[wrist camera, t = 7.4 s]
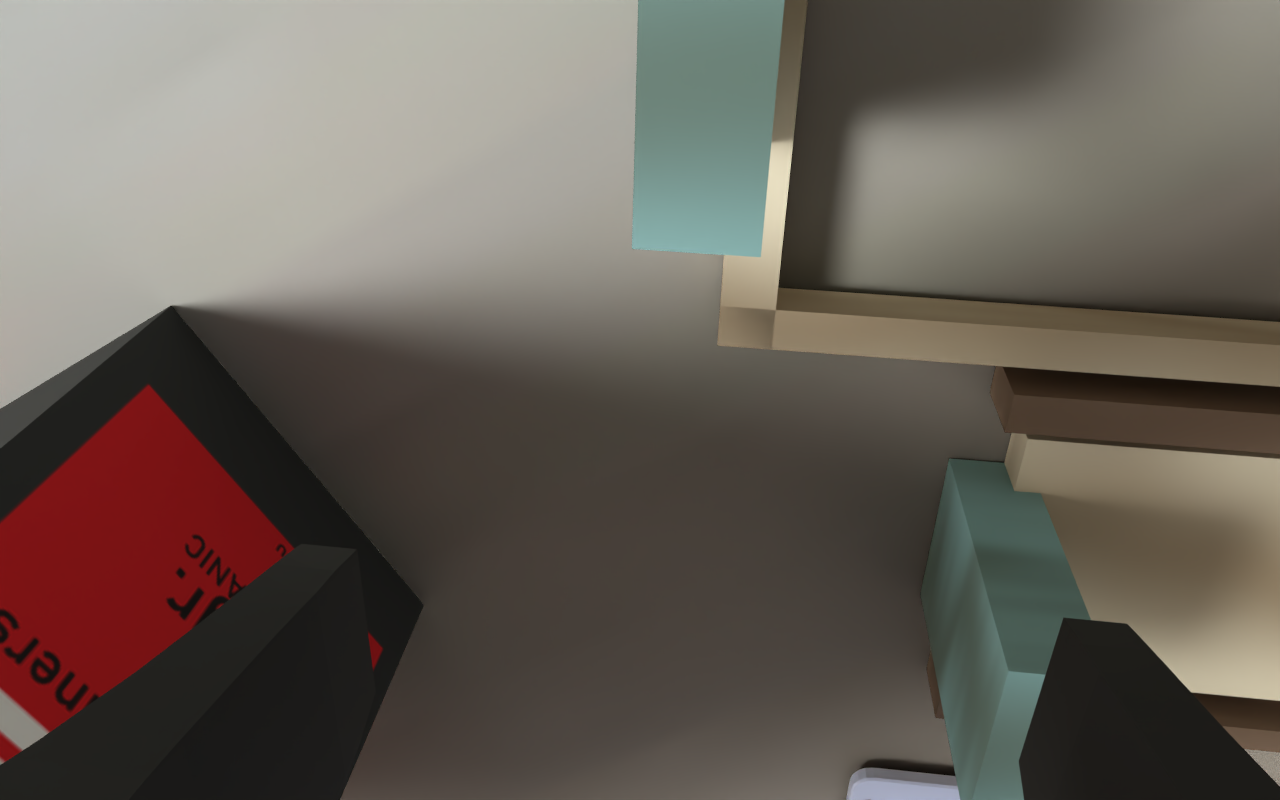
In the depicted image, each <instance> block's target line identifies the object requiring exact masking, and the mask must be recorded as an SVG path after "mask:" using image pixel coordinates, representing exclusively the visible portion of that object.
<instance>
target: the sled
mask: <svg viewBox="0 0 1280 800" xmlns="http://www.w3.org/2000/svg"><path fill="white" fill-rule="evenodd" d="M807 4H808V0H638V34H637V73H636V113H635V153H634V193H633V233H632V249H643V250H658V251H673V252H688V253H703V254H718V255H724V261H723V274H722V288H721V302H720V315H719V329H718V342H717V346H730V347H744V348H758V349H771V350H785V351H799V352H812V353H826V354H840V355H853V356H867V357H881V358H894V359H908V360H922V361H935V362H949V363H963V364H976V365H990V366H1003V367H1017V368H1031V369H1044V370H1058V371H1072V372H1085V373H1099V374H1113V375H1126V376H1140V377H1154V378H1167V379H1181V380H1195V381H1208V382H1222V383H1236V384H1249V385H1263V386H1277V387H1280V322H1271V321H1257V320H1242V319H1227V318H1213V317H1198V316H1184V315H1169V314H1154V313H1140V312H1125V311H1111V310H1096V309H1081V308H1067V307H1052V306H1038V305H1023V304H1008V303H994V302H979V301H965V300H950V299H935V298H921V297H906V296H892V295H877V294H862V293H848V292H833V291H819V290H804V289H789V288H778V284H779V274H780V265H781V255H782V245H783V236H784V226H785V216H786V207H787V197H788V187H789V178H790V168H791V158H792V149H793V139H794V129H795V120H796V110H797V100H798V91H799V81H800V71H801V62H802V52H803V42H804V33H805V23H806V13H807Z"/></svg>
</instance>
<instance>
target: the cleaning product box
mask: <svg viewBox="0 0 1280 800" xmlns="http://www.w3.org/2000/svg"><path fill="white" fill-rule="evenodd" d="M300 544H309V545H319V546H329V547H340V548H350V549H357V552H358V560H359V568H360V575H361V583H362V590H363V598H364V605H365V613H366V620H367V628H368V636H369V643H370V651H371V658H372V666H373V673H374V681H375V689H376V693H375V696H374V700H373V703H372V706H371V709H370V712H369V715H368V719H367V722H366V725H365V728H364V731H363V734H362V738H361V741H360V744H359V747H358V750H357V752H356V755H355V758H354V761H353V764H352V767H351V770H350V773H349V776H348V779H347V782H348V780H349V777H350V775H351V773H352V770H353V768H354V766H355V763H356V761H357V759H358V756H359V754H360V752H361V750H362V747H363V745H364V743H365V740H366V738H367V736H368V733H369V731H370V729H371V726H372V724H373V722H374V719H375V717H376V715H377V712H378V710H379V708H380V705H381V703H382V701H383V698H384V696H385V694H386V691H387V689H388V687H389V684H390V682H391V680H392V678H393V675H394V673H395V671H396V668H397V666H398V664H399V661H400V659H401V657H402V654H403V652H404V650H405V647H406V645H407V643H408V640H409V638H410V636H411V633H412V631H413V629H414V626H415V624H416V622H417V619H418V617H419V615H420V612H421V610H422V608H423V606H424V605H423V604H422V602H421V601H420V600H419V599H418V598H417V596H416V595H415V594H414V593H413V592H412V590H411V589H410V588H409V587H408V586H407V585H406V583H405V582H404V581H403V580H402V579H401V577H400V576H399V575H398V574H397V573H396V572H395V570H394V569H393V568H392V567H391V566H390V564H389V563H388V562H387V561H386V560H385V558H384V557H383V556H382V555H381V554H380V553H379V551H378V550H377V549H376V548H375V547H374V545H373V544H372V543H371V542H370V541H369V540H368V538H367V537H366V536H365V535H364V534H363V532H362V531H361V530H360V529H359V528H358V526H357V525H356V524H355V523H354V522H353V521H352V519H351V518H350V517H349V516H348V515H347V513H346V512H345V511H344V510H343V509H342V508H341V506H340V505H339V504H338V503H337V502H336V500H335V499H334V498H333V497H332V496H331V494H330V493H329V492H328V491H327V490H326V489H325V487H324V486H323V485H322V484H321V483H320V481H319V480H318V479H317V478H316V477H315V476H314V474H313V473H312V472H311V471H310V470H309V468H308V467H307V466H306V465H305V464H304V462H303V461H302V460H301V459H300V458H299V457H298V455H297V454H296V453H295V452H294V451H293V449H292V448H291V447H290V446H289V445H288V444H287V442H286V441H285V440H284V439H283V438H282V436H281V435H280V434H279V433H278V432H277V430H276V429H275V428H274V427H273V426H272V425H271V423H270V422H269V421H268V420H267V419H266V417H265V416H264V415H263V414H262V413H261V412H260V410H259V409H258V408H257V407H256V406H255V404H254V403H253V402H252V401H251V400H250V398H249V397H248V396H247V395H246V394H245V393H244V391H243V390H242V389H241V388H240V387H239V385H238V384H237V383H236V382H235V381H234V380H233V378H232V377H231V376H230V375H229V374H228V372H227V371H226V370H225V369H224V368H223V366H222V365H221V364H220V363H219V362H218V361H217V359H216V358H215V357H214V356H213V355H212V353H211V352H210V351H209V350H208V349H207V348H206V346H205V345H204V344H203V343H202V342H201V340H200V339H199V338H198V337H197V336H196V334H195V333H194V332H193V331H192V330H191V329H190V327H189V326H188V325H187V324H186V323H185V321H184V320H183V319H182V318H181V317H180V316H179V314H178V313H177V312H176V311H175V310H174V308H173V307H172V306H170V307H168V308H166V309H165V310H163V311H161V312H160V313H158V314H156V315H155V316H153V317H151V318H150V319H148V320H147V321H145V322H143V323H142V324H140V325H138V326H137V327H135V328H133V329H132V330H130V331H128V332H127V333H125V334H123V335H122V336H120V337H118V338H117V339H115V340H114V341H112V342H110V343H109V344H107V345H105V346H104V347H102V348H100V349H99V350H97V351H95V352H94V353H92V354H90V355H89V356H87V357H85V358H84V359H82V360H80V361H79V362H77V363H76V364H74V365H72V366H71V367H69V368H67V369H66V370H64V371H62V372H61V373H59V374H57V375H56V376H54V377H52V378H51V379H49V380H47V381H46V382H44V383H42V384H41V385H39V386H38V387H36V388H34V389H33V390H31V391H29V392H28V393H26V394H24V395H23V396H21V397H19V398H18V399H16V400H14V401H13V402H11V403H9V404H8V405H6V406H5V407H3V408H1V409H0V765H1V764H3V763H4V762H6V761H7V760H9V759H10V758H12V757H14V756H15V755H17V754H18V753H20V752H21V751H23V750H24V749H26V748H27V747H29V746H30V745H32V744H33V743H35V742H36V741H38V740H39V739H41V738H42V737H44V736H45V735H47V734H48V733H49V732H51V731H52V730H54V729H55V728H56V727H58V726H59V725H61V724H62V723H64V722H65V721H66V720H68V719H69V718H71V717H72V716H74V715H75V714H76V713H78V712H79V711H81V710H82V709H84V708H85V707H86V706H88V705H89V704H91V703H92V702H93V701H95V700H96V699H98V698H99V697H101V696H102V695H103V694H105V693H106V692H108V691H109V690H111V689H112V688H113V687H115V686H116V685H118V684H119V683H121V682H122V681H123V680H125V679H126V678H128V677H129V676H130V675H132V674H133V673H135V672H136V671H137V670H139V669H140V668H141V667H143V666H144V665H145V664H147V663H148V662H149V661H151V660H152V659H153V658H155V657H156V656H157V655H158V654H160V653H161V652H162V651H164V650H165V649H166V648H168V647H169V646H170V645H171V644H173V643H174V642H175V641H177V640H178V639H179V638H181V637H182V636H183V635H185V634H186V633H187V632H188V631H190V630H191V629H192V628H194V627H195V626H196V625H198V624H199V623H200V622H202V621H203V620H204V619H205V618H207V617H208V616H209V615H210V614H212V613H213V612H214V611H216V610H217V609H218V608H219V607H221V606H222V605H223V604H224V603H226V602H227V601H228V600H230V599H231V598H232V597H233V596H235V595H236V594H237V593H238V592H240V591H241V590H242V589H243V588H245V587H246V586H247V585H248V584H250V583H251V582H252V581H253V580H255V579H256V578H257V577H259V576H260V575H261V574H262V573H264V572H265V571H266V570H267V569H269V568H270V567H271V566H272V565H274V564H275V563H276V562H278V561H279V560H280V559H281V558H283V557H284V556H285V555H287V554H288V553H289V552H291V551H292V550H293V549H295V548H296V547H297V546H299V545H300ZM347 782H346V784H347ZM346 784H345V786H344V788H343V790H342V793H341V795H340V797H339V799H338V800H340V798H341V796H342V794H343V791H344V789H345V787H346Z"/></svg>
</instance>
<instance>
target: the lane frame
mask: <svg viewBox="0 0 1280 800" xmlns="http://www.w3.org/2000/svg"><path fill="white" fill-rule="evenodd" d="M990 394H991V397H992V400H993V402H994V405H995V408H996V410H997V413H998V415H999V418H1000V421H1001V423H1002V426H1003V429H1004V431H1005V433H1011V438H1010V442H1009V446H1008V450H1007V454H1006V458H1005V462H1004V463H1000V462H987V461H975V460H962V459H950V458H949V462H948V467H947V471H946V476H945V481H944V485H943V490H942V495H941V499H940V504H939V509H938V513H937V518H936V523H935V527H934V532H933V537H932V541H931V546H930V551H929V555H928V560H927V565H926V569H925V574H924V579H923V583H922V588H921V593H920V595H921V600H922V605H923V611H924V616H925V621H926V626H927V631H928V636H929V641H930V647H931V651H930V656H929V660H928V664H927V674H928V679H929V685H930V690H931V696H932V701H933V707H934V712H935V717H936V718H942V719H945V724H946V729H947V734H948V739H949V744H950V750H951V755H952V760H953V765H954V770H955V775H956V781H957V786H958V791H959V796H960V800H1024V796H1023V789H1022V782H1021V775H1020V768H1019V758H1020V755H1021V752H1022V749H1023V745H1024V742H1025V739H1026V736H1027V733H1028V729H1029V726H1030V723H1031V720H1032V717H1033V713H1034V710H1035V707H1036V704H1037V701H1038V697H1039V694H1040V691H1041V688H1042V685H1043V681H1044V678H1045V675H1046V672H1047V668H1048V665H1049V662H1050V659H1051V656H1052V652H1053V649H1054V646H1055V643H1056V640H1057V636H1058V633H1059V630H1060V627H1061V624H1062V620H1063V617H1064V618H1074V619H1084V620H1095V621H1105V622H1115V623H1126V624H1128V625H1129V626H1130V627H1131V628H1132V629H1133V630H1134V631H1135V632H1136V633H1137V634H1138V635H1139V636H1140V638H1141V639H1142V640H1143V641H1144V642H1145V643H1146V644H1147V645H1148V646H1149V647H1150V648H1151V649H1152V650H1153V651H1154V652H1155V654H1156V655H1157V656H1158V657H1159V658H1160V659H1161V660H1162V661H1163V662H1164V663H1165V664H1166V666H1167V667H1168V668H1169V669H1170V670H1171V671H1172V672H1173V673H1174V674H1175V675H1176V676H1177V678H1178V679H1179V680H1180V681H1181V682H1182V683H1183V684H1184V685H1185V686H1186V687H1187V688H1188V690H1189V691H1190V692H1191V693H1192V694H1193V695H1194V696H1195V697H1196V698H1197V699H1198V700H1199V702H1200V703H1201V704H1202V705H1203V706H1204V707H1205V708H1206V709H1207V710H1208V711H1209V712H1210V713H1211V715H1212V716H1213V717H1214V718H1215V719H1216V720H1217V721H1218V722H1219V723H1220V724H1221V725H1222V726H1223V727H1224V729H1225V730H1226V731H1227V732H1228V733H1229V734H1230V735H1231V736H1232V737H1233V738H1234V739H1235V740H1236V741H1237V742H1238V744H1239V745H1240V746H1241V747H1242V748H1243V749H1251V750H1261V751H1271V752H1280V387H1277V386H1263V385H1249V384H1236V383H1222V382H1208V381H1195V380H1181V379H1167V378H1154V377H1140V376H1126V375H1113V374H1099V373H1085V372H1072V371H1058V370H1044V369H1031V368H1017V367H1003V366H996V367H995V372H994V376H993V381H992V385H991V389H990Z"/></svg>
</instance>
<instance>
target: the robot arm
mask: <svg viewBox="0 0 1280 800" xmlns="http://www.w3.org/2000/svg"><path fill="white" fill-rule="evenodd" d="M375 693H376V689H375V681H374V673H373V666H372V658H371V651H370V643H369V636H368V628H367V620H366V613H365V605H364V598H363V590H362V583H361V575H360V568H359V560H358V552H357V549H350V548H340V547H329V546H319V545H309V544H300V545H299V546H297V547H296V548H295V549H293V550H292V551H291V552H289V553H288V554H287V555H285V556H284V557H283V558H281V559H280V560H279V561H278V562H276V563H275V564H274V565H272V566H271V567H270V568H269V569H267V570H266V571H265V572H264V573H262V574H261V575H260V576H259V577H257V578H256V579H255V580H253V581H252V582H251V583H250V584H248V585H247V586H246V587H245V588H243V589H242V590H241V591H240V592H238V593H237V594H236V595H235V596H233V597H232V598H231V599H230V600H228V601H227V602H226V603H224V604H223V605H222V606H221V607H219V608H218V609H217V610H216V611H214V612H213V613H212V614H210V615H209V616H208V617H207V618H205V619H204V620H203V621H202V622H200V623H199V624H198V625H196V626H195V627H194V628H192V629H191V630H190V631H188V632H187V633H186V634H185V635H183V636H182V637H181V638H179V639H178V640H177V641H175V642H174V643H173V644H171V645H170V646H169V647H168V648H166V649H165V650H164V651H162V652H161V653H160V654H158V655H157V656H156V657H155V658H153V659H152V660H151V661H149V662H148V663H147V664H145V665H144V666H143V667H141V668H140V669H139V670H137V671H136V672H135V673H133V674H132V675H130V676H129V677H128V678H126V679H125V680H123V681H122V682H121V683H119V684H118V685H116V686H115V687H113V688H112V689H111V690H109V691H108V692H106V693H105V694H103V695H102V696H101V697H99V698H98V699H96V700H95V701H93V702H92V703H91V704H89V705H88V706H86V707H85V708H84V709H82V710H81V711H79V712H78V713H76V714H75V715H74V716H72V717H71V718H69V719H68V720H66V721H65V722H64V723H62V724H61V725H59V726H58V727H56V728H55V729H54V730H52V731H51V732H49V733H48V734H47V735H45V736H44V737H42V738H41V739H39V740H38V741H36V742H35V743H33V744H32V745H30V746H29V747H27V748H26V749H24V750H23V751H21V752H20V753H18V754H17V755H15V756H14V757H12V758H10V759H9V760H7V761H6V762H4V763H3V764H1V765H0V800H338V799H339V797H340V795H341V793H342V790H343V788H344V786H345V784H346V782H347V779H348V776H349V773H350V770H351V767H352V764H353V761H354V758H355V755H356V752H357V750H358V747H359V744H360V741H361V738H362V734H363V731H364V728H365V725H366V722H367V719H368V715H369V712H370V709H371V706H372V703H373V700H374V696H375ZM1019 768H1020V775H1021V782H1022V789H1023V796H1024V800H1280V786H1279V785H1278V784H1277V783H1276V782H1275V781H1274V780H1273V779H1272V778H1271V777H1270V776H1269V775H1268V774H1267V773H1266V772H1265V771H1264V770H1263V769H1262V768H1261V767H1260V766H1259V765H1258V764H1257V763H1256V762H1255V761H1254V759H1253V758H1252V757H1251V756H1250V755H1249V754H1248V753H1247V752H1246V751H1245V750H1244V749H1243V748H1242V747H1241V746H1240V745H1239V744H1238V742H1237V741H1236V740H1235V739H1234V738H1233V737H1232V736H1231V735H1230V734H1229V733H1228V732H1227V731H1226V730H1225V729H1224V727H1223V726H1222V725H1221V724H1220V723H1219V722H1218V721H1217V720H1216V719H1215V718H1214V717H1213V716H1212V715H1211V713H1210V712H1209V711H1208V710H1207V709H1206V708H1205V707H1204V706H1203V705H1202V704H1201V703H1200V702H1199V700H1198V699H1197V698H1196V697H1195V696H1194V695H1193V694H1192V693H1191V692H1190V691H1189V690H1188V688H1187V687H1186V686H1185V685H1184V684H1183V683H1182V682H1181V681H1180V680H1179V679H1178V678H1177V676H1176V675H1175V674H1174V673H1173V672H1172V671H1171V670H1170V669H1169V668H1168V667H1167V666H1166V664H1165V663H1164V662H1163V661H1162V660H1161V659H1160V658H1159V657H1158V656H1157V655H1156V654H1155V652H1154V651H1153V650H1152V649H1151V648H1150V647H1149V646H1148V645H1147V644H1146V643H1145V642H1144V641H1143V640H1142V639H1141V638H1140V636H1139V635H1138V634H1137V633H1136V632H1135V631H1134V630H1133V629H1132V628H1131V627H1130V626H1129V625H1128V624H1126V623H1115V622H1105V621H1095V620H1084V619H1074V618H1064V617H1063V620H1062V624H1061V627H1060V630H1059V633H1058V636H1057V640H1056V643H1055V646H1054V649H1053V652H1052V656H1051V659H1050V662H1049V665H1048V668H1047V672H1046V675H1045V678H1044V681H1043V685H1042V688H1041V691H1040V694H1039V697H1038V701H1037V704H1036V707H1035V710H1034V713H1033V717H1032V720H1031V723H1030V726H1029V729H1028V733H1027V736H1026V739H1025V742H1024V745H1023V749H1022V752H1021V755H1020V758H1019ZM868 799H871V800H960V796H959V791H958V786H957V781H956V776H949V775H940V774H930V773H921V772H911V771H901V770H892V769H882V768H863V769H860V770H858V771H856V772H855V773H854V774H852V776H851V778H850V782H849V787H848V792H847V798H846V800H868Z"/></svg>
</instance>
